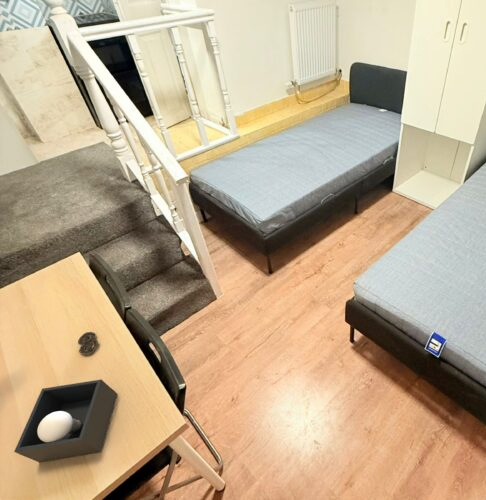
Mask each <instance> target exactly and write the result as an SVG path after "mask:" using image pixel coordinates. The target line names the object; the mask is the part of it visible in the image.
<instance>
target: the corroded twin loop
mask: <svg viewBox="0 0 486 500" xmlns="http://www.w3.org/2000/svg"><path fill="white" fill-rule="evenodd" d="M96 337H97V334H96V333H95V332H93V331H86V332H84V333H83V334H82V335H81V336H80V337H79V338H78V341H77V345H80V347H79V349H78V353H79V354H81V355H92V354H93V353H94V352H95V351H96V349H97V348H98V346H99V341H98V340H97V339H96Z"/></svg>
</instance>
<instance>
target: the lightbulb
mask: <svg viewBox="0 0 486 500" xmlns="http://www.w3.org/2000/svg"><path fill="white" fill-rule="evenodd" d="M80 427H81V421H79V420H75V419H72V417H71V415H70V414H69V413H67V412H64V411H57V412H53V413H51V414H49V415H47V416H46V417H45V418H44V419H43V420H42V421H41V422H40V424H39V426H38V430H37V433H38V437H39V438H40V439H41V440H42V441H44V442H47V443H50V442H56V441H60V440H62V439H63V438H65V437H66V436H67V435H68V434H70V433H72V432H76V431H78V430H79V429H80Z"/></svg>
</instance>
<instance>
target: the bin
mask: <svg viewBox="0 0 486 500" xmlns="http://www.w3.org/2000/svg"><path fill="white" fill-rule="evenodd" d="M117 398H118V393H117V392H116V391H115V390H114V389H113V388H112V387H111V386H110V385H108V384H107V383H106V382H105V381H104V380H103V379H102V378H101V379H95V380H88V381H82V382H75V383H69V384H64V385H63V384H62V385H56V386H50V387H43V388H41V390H40V393H39V394H38V397H37V399H36V402H35V403H34V406H33V408H32V410H31V412H30V415H29V417H28V419H27V422H26V424H25V427H24V428H23V430H22V433H21V435H20V437H19V440H18V442H17V444H16V447H15V449H14V451H13V453H16V454H17V455H20V456H23V457H25V458H27V459H30V460H32V461H35V462H37V463H46V462H52V461H58V460H63V459H70V458H74V457H81V456H87V455H92V454H93V455H94V454H98V453H102V451H103V449H104V444H105V441H106V437H107V433H108V430H109V426H110V423H111V419H112V416H113V412H114V409H115V405H116V401H117ZM57 411H64V412H67V413H69V414H70V415H71V417H72V419H75V420H79V421H81V427H80V429H79V430H78V431H76V432H72V433H70V434H68V435H67V436H66V437H65V438H63V439H62V440H60V441H56V442H50V443H47V442H44V441H42V440H41V439H40V438H39V437H38V433H37V430H38V426H39V424H40V422H41V421H42V420H43V419H44V418H45V417H46V416H47V415H49V414H51V413H53V412H57Z"/></svg>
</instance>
